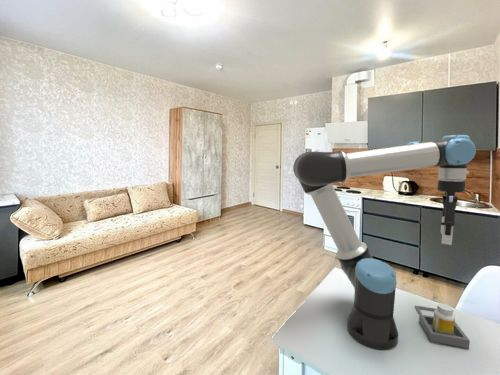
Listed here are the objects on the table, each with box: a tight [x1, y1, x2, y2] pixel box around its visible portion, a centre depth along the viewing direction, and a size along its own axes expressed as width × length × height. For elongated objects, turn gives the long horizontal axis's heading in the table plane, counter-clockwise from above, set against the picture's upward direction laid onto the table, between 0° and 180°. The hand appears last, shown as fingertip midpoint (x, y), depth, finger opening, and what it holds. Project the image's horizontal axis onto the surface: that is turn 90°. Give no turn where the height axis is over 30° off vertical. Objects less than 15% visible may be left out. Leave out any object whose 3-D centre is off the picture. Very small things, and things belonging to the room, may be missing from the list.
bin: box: [418, 314, 471, 350], centre depth 80 cm, size 10×10×3 cm
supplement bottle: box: [432, 302, 456, 336], centre depth 80 cm, size 5×5×10 cm
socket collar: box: [414, 305, 437, 315], centre depth 90 cm, size 9×9×1 cm
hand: (445, 238), depth 89 cm, fingers open, 13 cm apart
